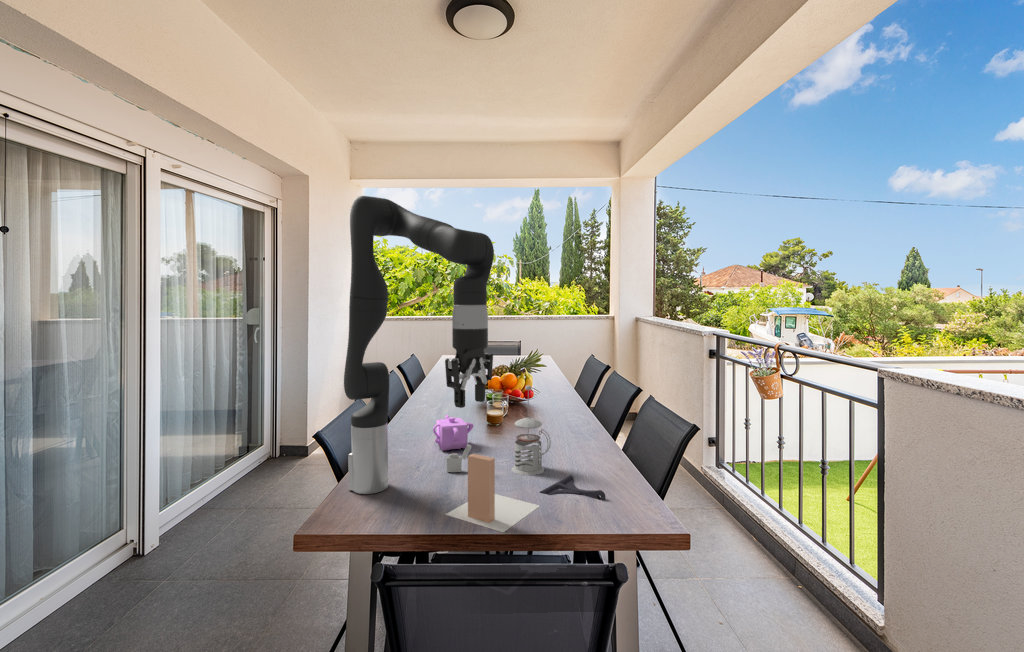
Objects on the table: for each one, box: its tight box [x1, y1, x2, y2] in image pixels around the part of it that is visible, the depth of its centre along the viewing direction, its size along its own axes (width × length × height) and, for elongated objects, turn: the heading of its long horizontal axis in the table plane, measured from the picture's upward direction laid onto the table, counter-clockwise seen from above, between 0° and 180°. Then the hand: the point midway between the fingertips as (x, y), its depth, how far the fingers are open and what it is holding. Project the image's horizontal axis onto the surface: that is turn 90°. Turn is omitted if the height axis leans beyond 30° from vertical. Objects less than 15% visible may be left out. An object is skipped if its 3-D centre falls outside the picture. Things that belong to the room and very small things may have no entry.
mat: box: [444, 493, 540, 533], centre depth 116 cm, size 16×16×1 cm
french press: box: [511, 384, 552, 476], centre depth 144 cm, size 10×12×25 cm
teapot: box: [432, 414, 475, 451], centre depth 168 cm, size 18×14×10 cm
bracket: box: [539, 474, 607, 501], centre depth 128 cm, size 14×15×3 cm
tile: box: [467, 453, 496, 523], centre depth 111 cm, size 6×2×14 cm, turn 57°
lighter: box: [446, 443, 472, 473], centre depth 143 cm, size 7×2×8 cm, turn 90°
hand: (470, 403), depth 106 cm, fingers open, 6 cm apart
